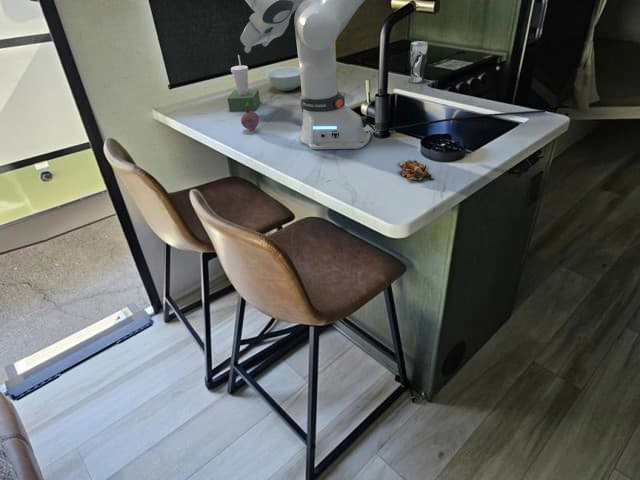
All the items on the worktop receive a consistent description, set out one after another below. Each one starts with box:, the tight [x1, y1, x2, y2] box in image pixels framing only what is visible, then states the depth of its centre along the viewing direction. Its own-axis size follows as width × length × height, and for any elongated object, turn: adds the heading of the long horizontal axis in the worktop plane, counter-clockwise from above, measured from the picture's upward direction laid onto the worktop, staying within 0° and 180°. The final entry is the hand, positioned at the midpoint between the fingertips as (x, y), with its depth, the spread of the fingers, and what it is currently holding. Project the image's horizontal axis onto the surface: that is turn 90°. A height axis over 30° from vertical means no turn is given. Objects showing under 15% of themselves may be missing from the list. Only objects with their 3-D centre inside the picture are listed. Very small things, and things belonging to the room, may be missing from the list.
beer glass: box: [408, 40, 429, 84], centre depth 178 cm, size 7×7×15 cm
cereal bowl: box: [265, 66, 301, 92], centre depth 184 cm, size 17×17×7 cm
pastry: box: [399, 158, 434, 181], centre depth 117 cm, size 7×12×4 cm, turn 16°
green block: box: [227, 88, 261, 112], centre depth 168 cm, size 10×10×5 cm
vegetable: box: [240, 103, 260, 132], centre depth 146 cm, size 6×6×10 cm
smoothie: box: [230, 54, 249, 95], centre depth 163 cm, size 6×6×14 cm
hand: (255, 47), depth 152 cm, fingers open, 8 cm apart
